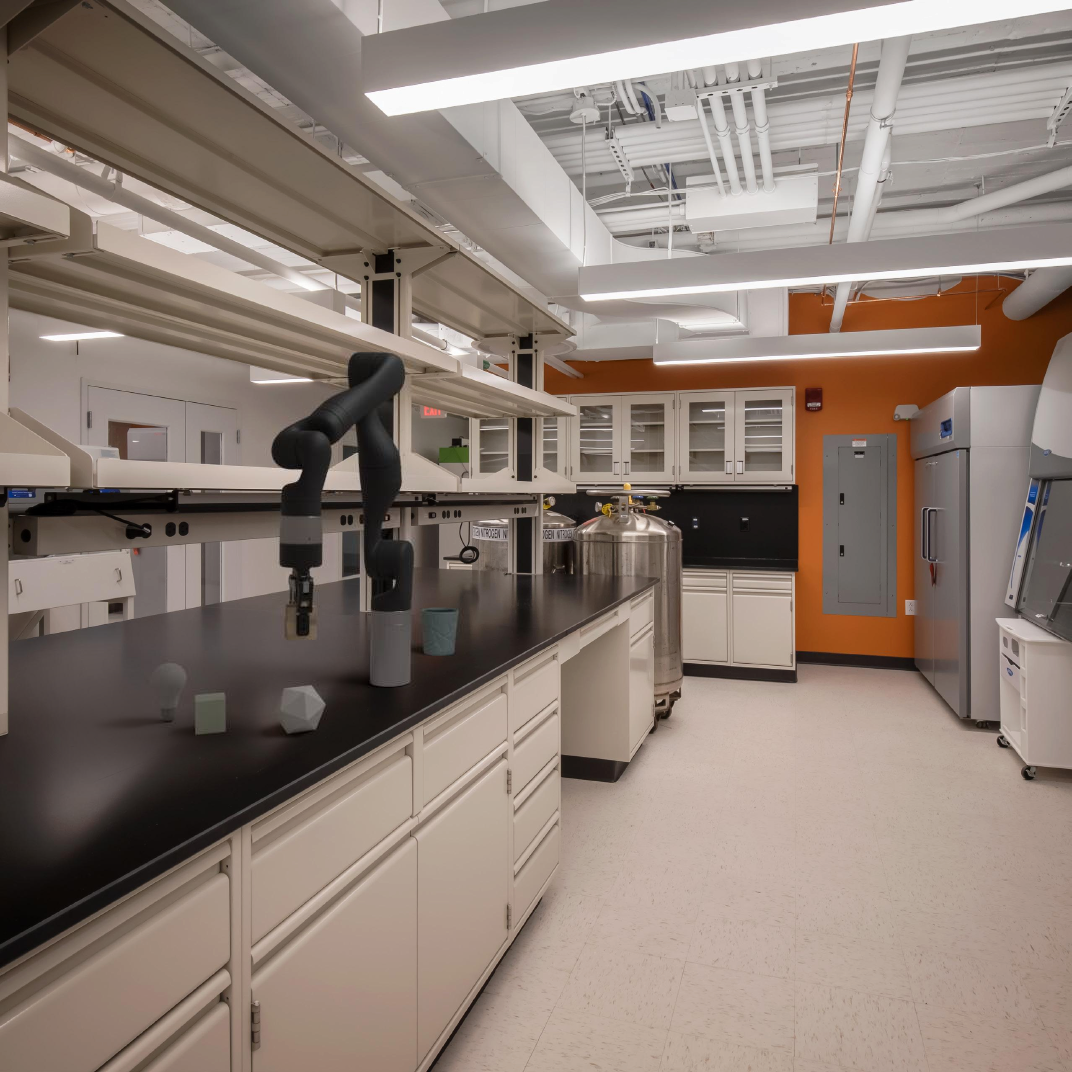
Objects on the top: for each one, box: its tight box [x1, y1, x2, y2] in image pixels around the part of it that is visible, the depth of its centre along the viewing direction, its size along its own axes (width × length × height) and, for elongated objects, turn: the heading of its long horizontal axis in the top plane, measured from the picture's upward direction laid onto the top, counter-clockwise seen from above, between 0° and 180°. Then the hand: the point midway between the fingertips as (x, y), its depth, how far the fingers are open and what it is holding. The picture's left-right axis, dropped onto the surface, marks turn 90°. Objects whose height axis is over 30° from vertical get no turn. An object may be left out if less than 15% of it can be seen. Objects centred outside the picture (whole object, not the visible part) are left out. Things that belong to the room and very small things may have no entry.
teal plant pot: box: [421, 607, 459, 657], centre depth 207 cm, size 10×10×12 cm
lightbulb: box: [149, 662, 187, 722], centre depth 140 cm, size 6×6×11 cm
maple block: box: [284, 602, 318, 642], centre depth 136 cm, size 5×5×6 cm
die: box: [273, 684, 326, 734], centre depth 137 cm, size 8×9×10 cm
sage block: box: [194, 692, 227, 736], centre depth 136 cm, size 5×5×6 cm
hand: (300, 632), depth 136 cm, fingers closed on maple block, 5 cm apart
